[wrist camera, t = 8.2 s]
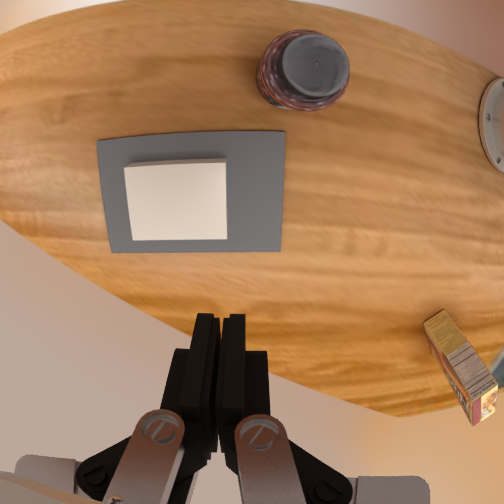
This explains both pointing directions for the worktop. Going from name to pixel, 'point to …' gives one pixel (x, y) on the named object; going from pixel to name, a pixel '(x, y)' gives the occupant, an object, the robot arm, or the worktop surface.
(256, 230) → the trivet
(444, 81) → the worktop surface
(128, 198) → the block
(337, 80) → the supplement bottle
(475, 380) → the candy box
